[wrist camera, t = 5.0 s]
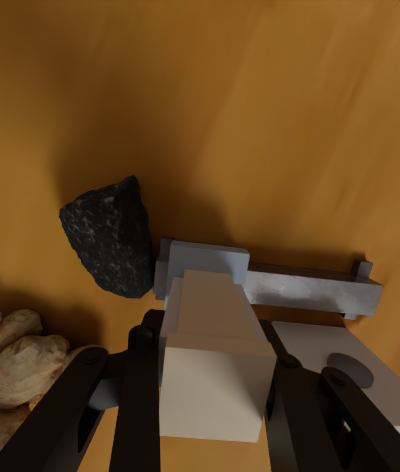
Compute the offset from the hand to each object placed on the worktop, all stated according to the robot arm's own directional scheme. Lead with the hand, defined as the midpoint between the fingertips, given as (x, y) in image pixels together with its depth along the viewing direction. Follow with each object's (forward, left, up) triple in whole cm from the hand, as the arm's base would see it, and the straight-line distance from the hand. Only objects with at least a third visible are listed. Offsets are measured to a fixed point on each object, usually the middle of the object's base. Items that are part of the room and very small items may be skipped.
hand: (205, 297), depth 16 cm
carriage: (0, 0, -5) cm, 5 cm away
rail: (+6, 0, -5) cm, 8 cm away
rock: (-8, +2, -6) cm, 10 cm away
